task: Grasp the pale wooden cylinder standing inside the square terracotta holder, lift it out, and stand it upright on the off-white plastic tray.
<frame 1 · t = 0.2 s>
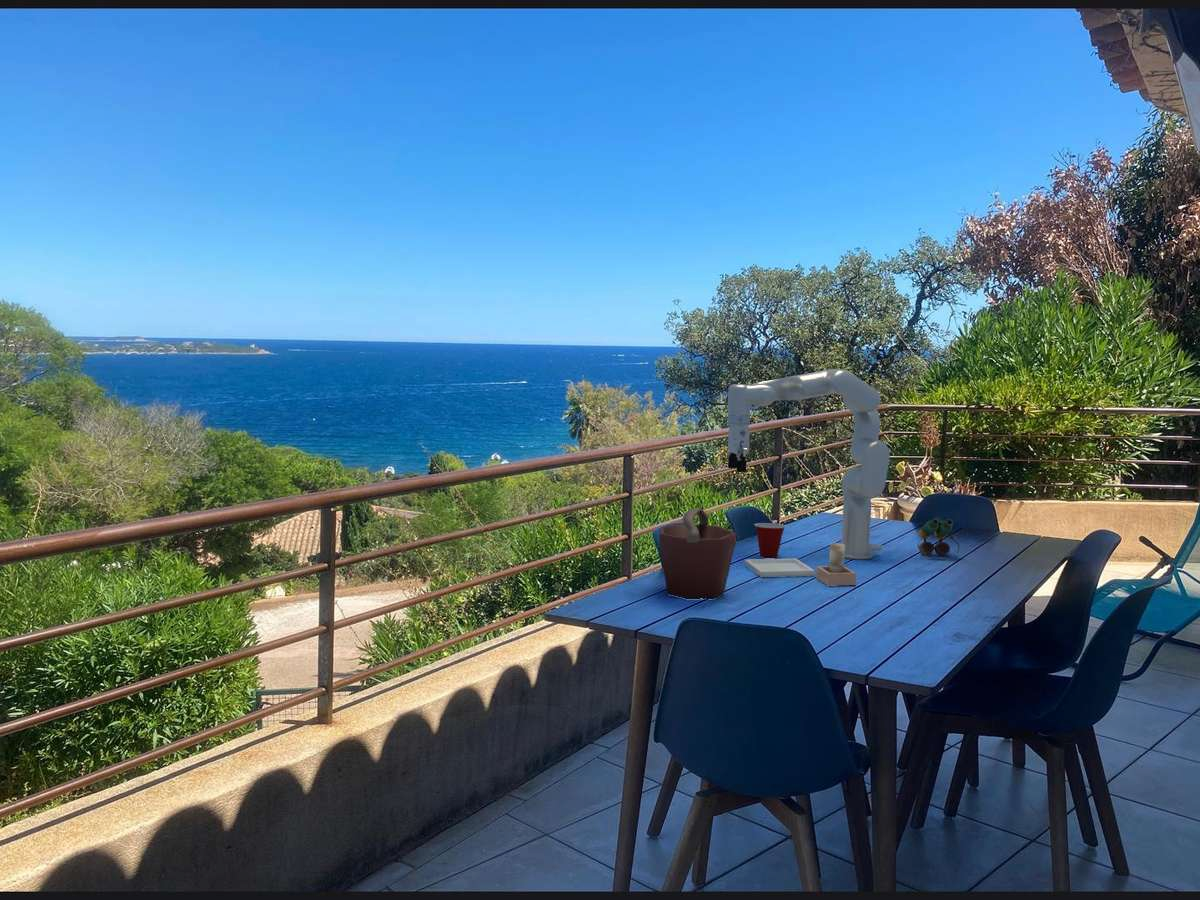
hand: (736, 470, 281), 31 cm above the table, tool pointing down, fingers open, 9 cm apart
plastic tray: (778, 570, 269), on the table
binoculars: (934, 556, 293), on the table
bucket: (692, 593, 242), on the table
plastic cup: (768, 557, 287), on the table
terracotta holder: (835, 582, 256), on the table
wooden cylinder: (836, 563, 256), in the terracotta holder
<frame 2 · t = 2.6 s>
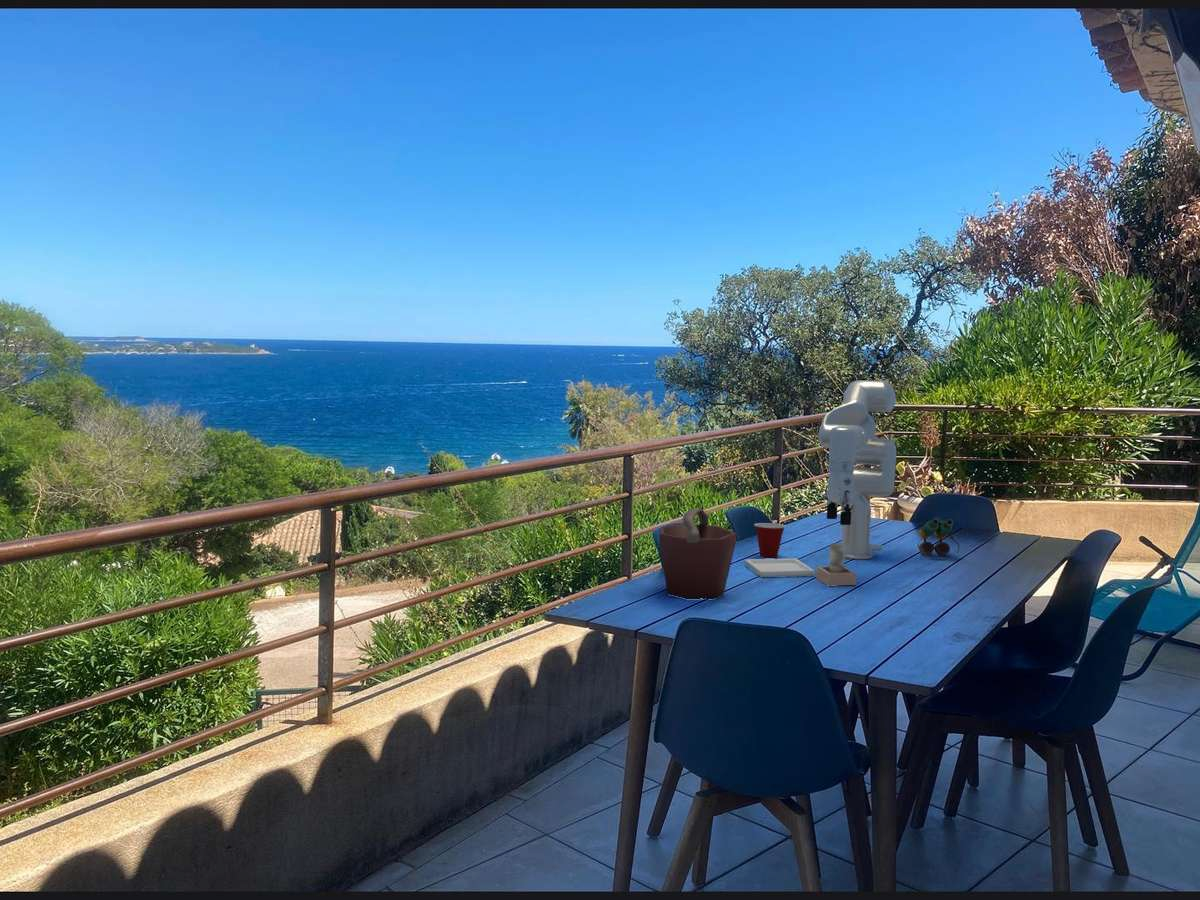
hand: (838, 521, 254), 19 cm above the table, tool pointing down, fingers open, 9 cm apart
nothing on the table moved.
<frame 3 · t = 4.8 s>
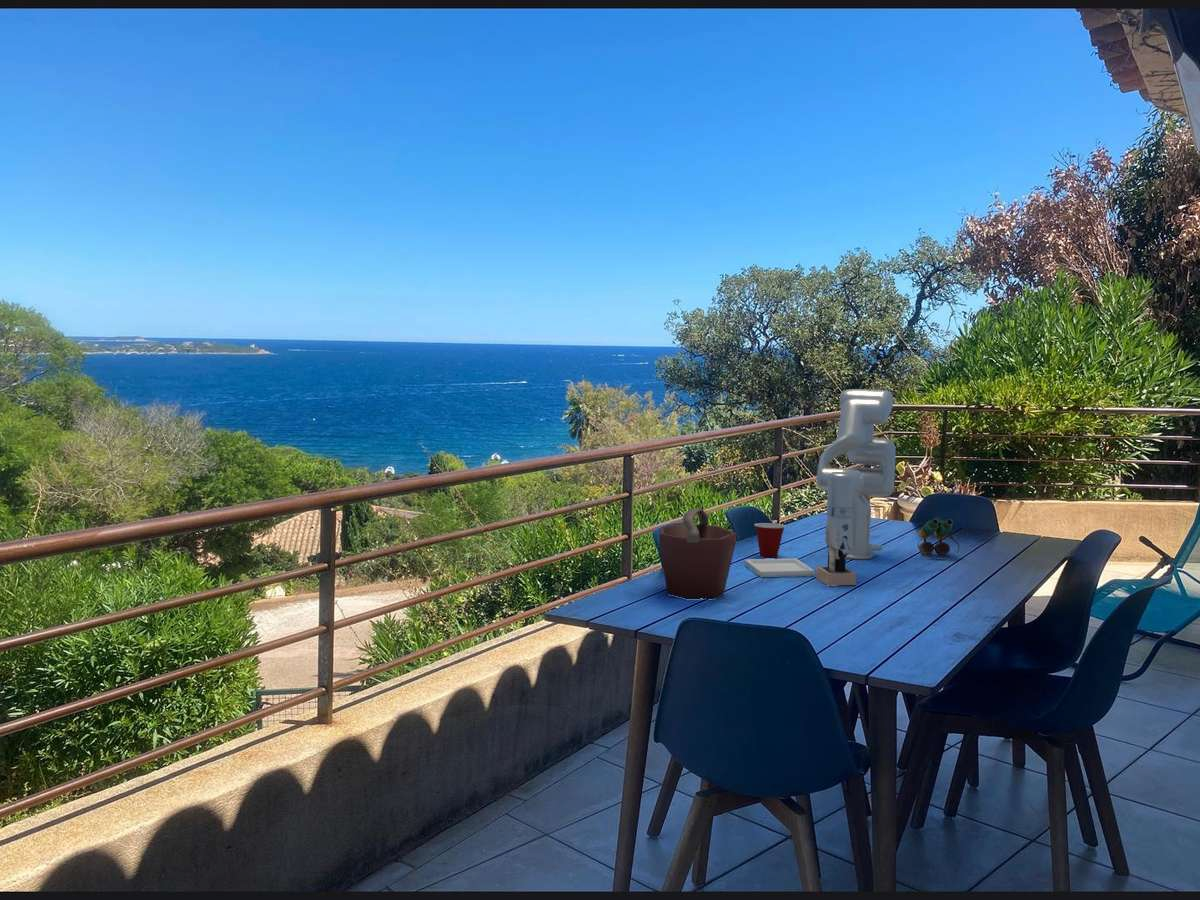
hand: (836, 568, 256), 4 cm above the table, tool pointing down, fingers closed on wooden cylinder, 4 cm apart
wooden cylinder: (836, 563, 256), in the terracotta holder, touching gripper
everything else where it was.
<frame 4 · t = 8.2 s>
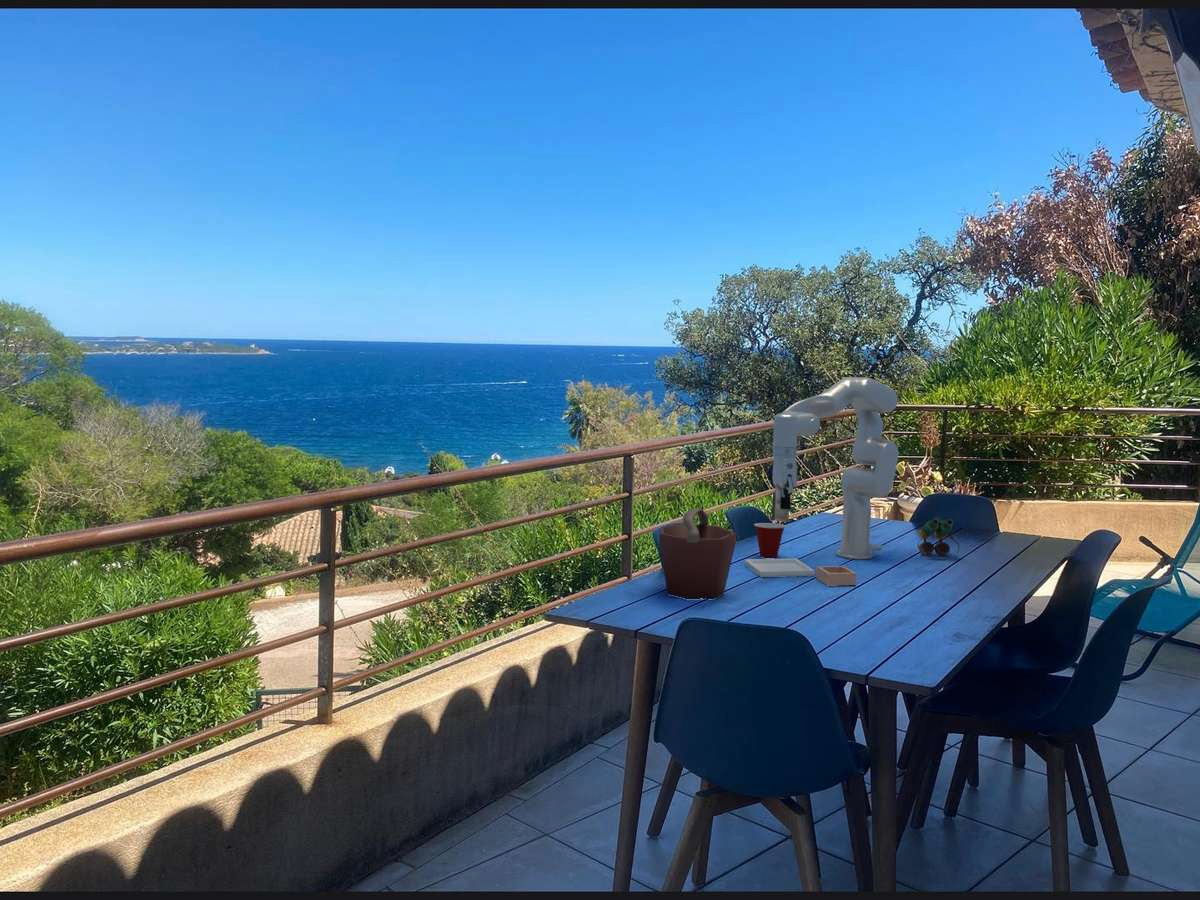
hand: (782, 507, 266), 21 cm above the table, tool pointing down, fingers closed on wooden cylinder, 4 cm apart
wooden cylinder: (782, 502, 266), point 23 cm above the table, touching gripper
everything else where it was.
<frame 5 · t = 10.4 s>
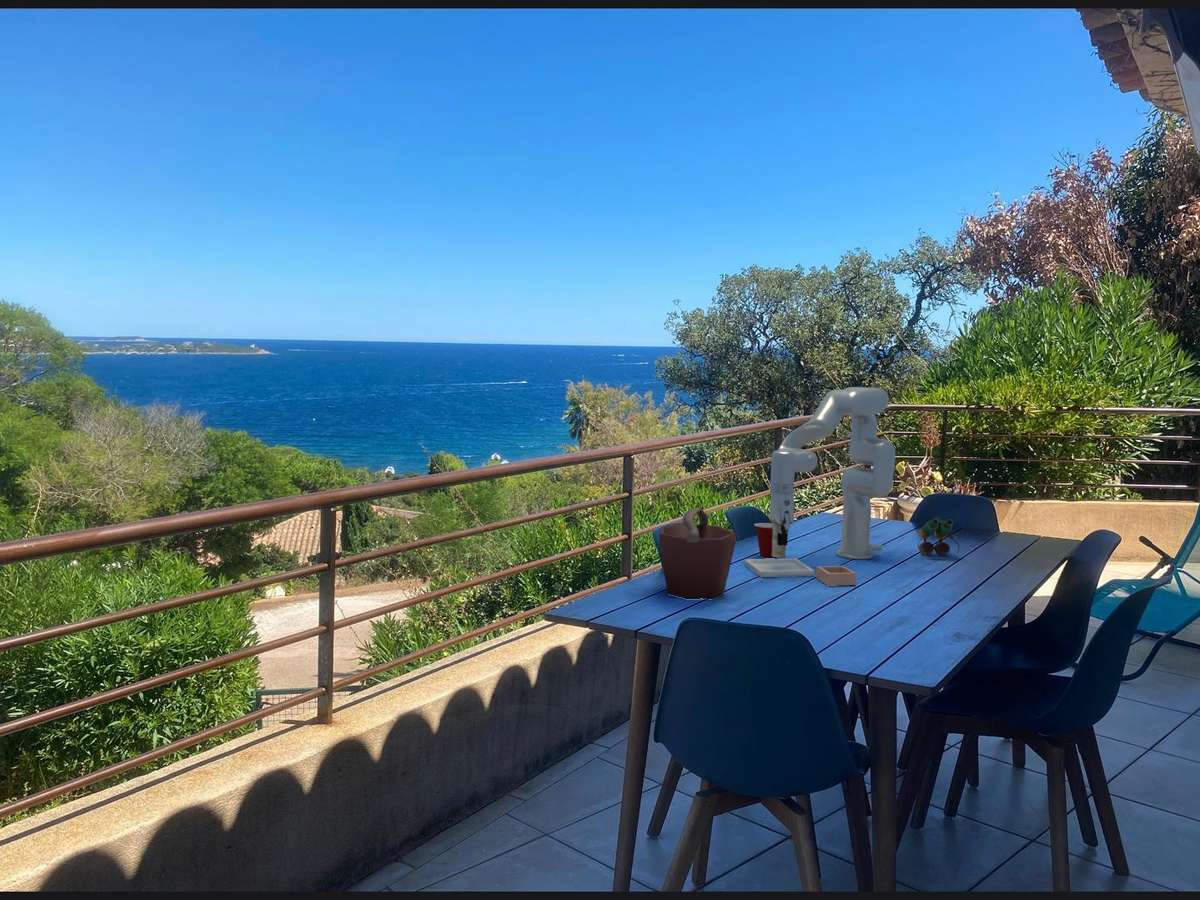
hand: (779, 542, 268), 9 cm above the table, tool pointing down, fingers closed on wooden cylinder, 4 cm apart
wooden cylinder: (779, 537, 268), point 11 cm above the table, touching gripper
everything else where it was.
when the fingers open (7 cm above the table, at t = 11.8 s): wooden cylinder drops 1 cm, resting on plastic tray.
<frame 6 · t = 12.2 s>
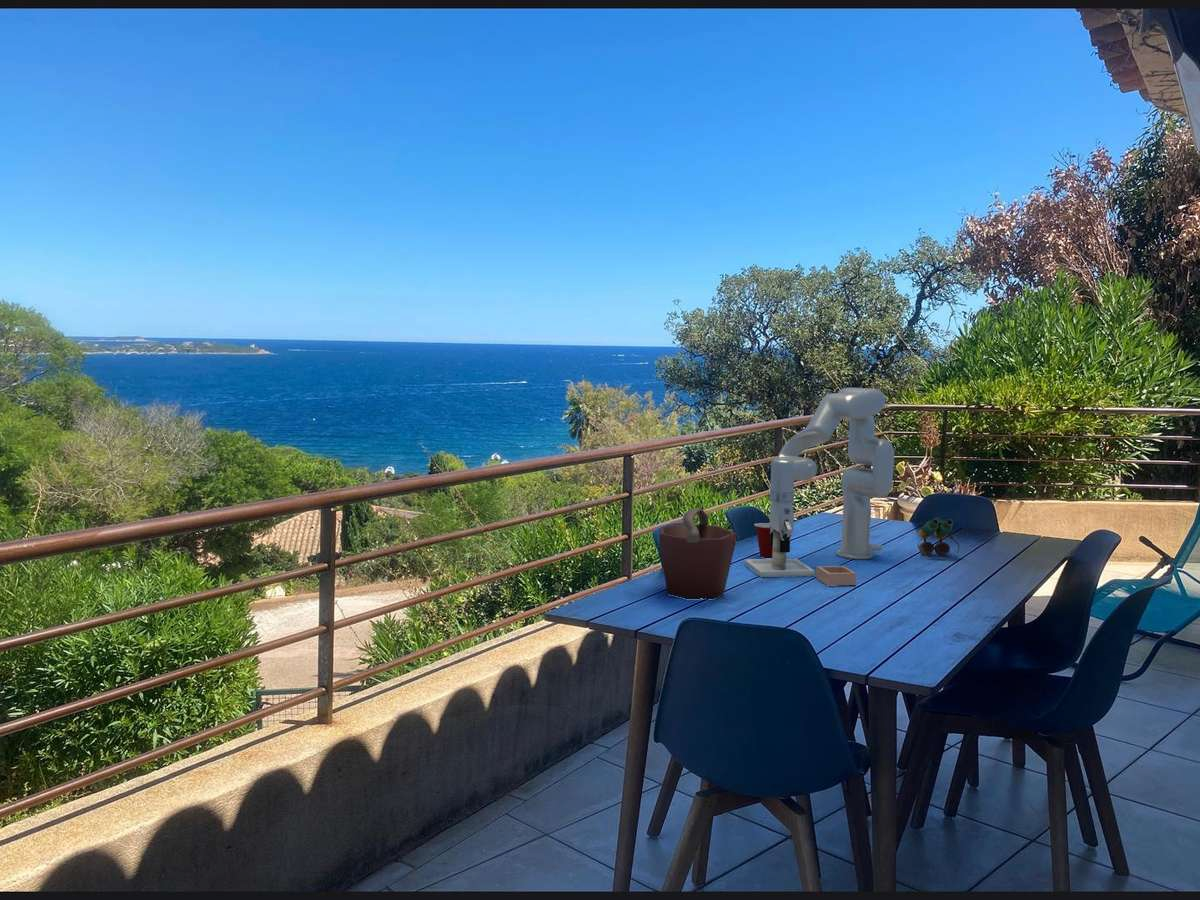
hand: (779, 548, 268), 7 cm above the table, tool pointing down, fingers open, 8 cm apart
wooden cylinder: (779, 550, 268), in the plastic tray, point 7 cm above the table
everything else where it was.
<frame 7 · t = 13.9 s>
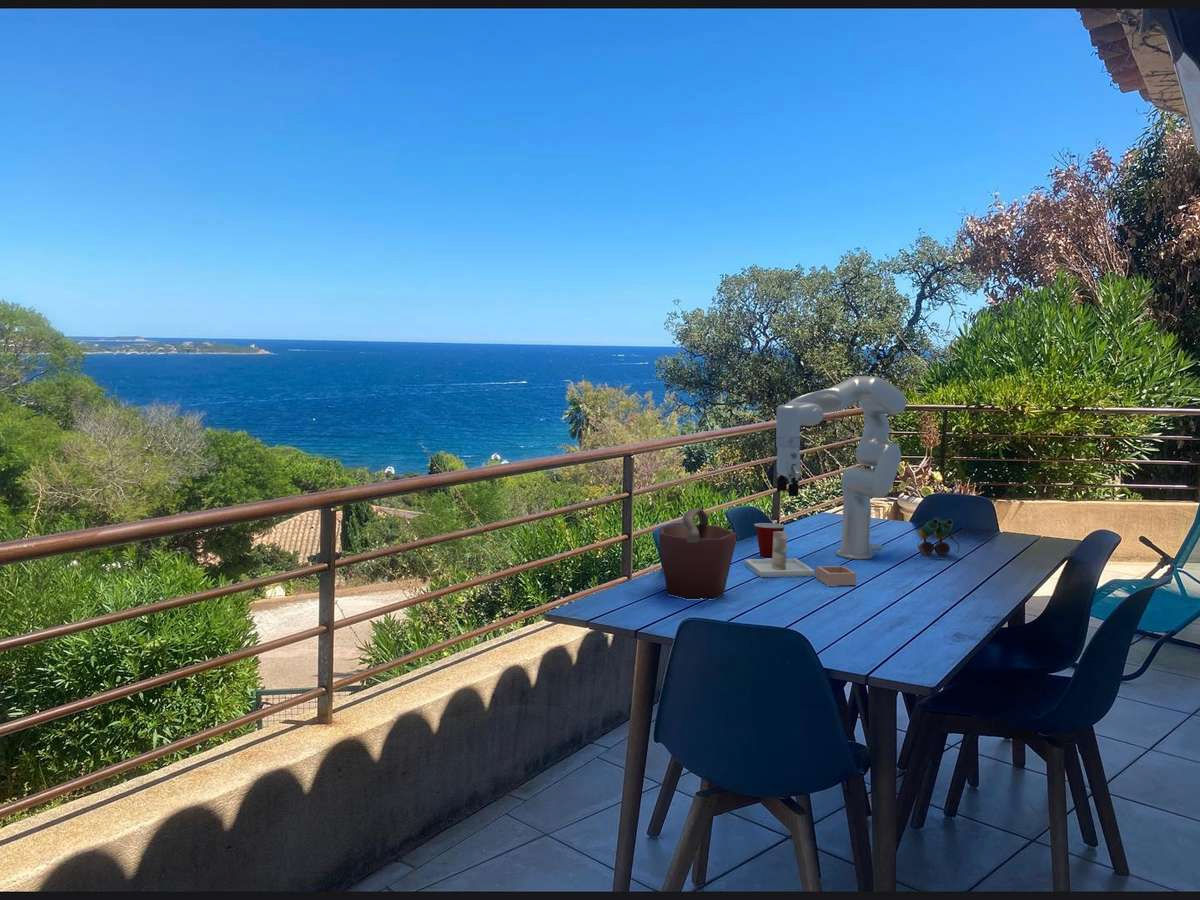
hand: (787, 493, 271), 25 cm above the table, tool pointing down, fingers open, 9 cm apart
nothing on the table moved.
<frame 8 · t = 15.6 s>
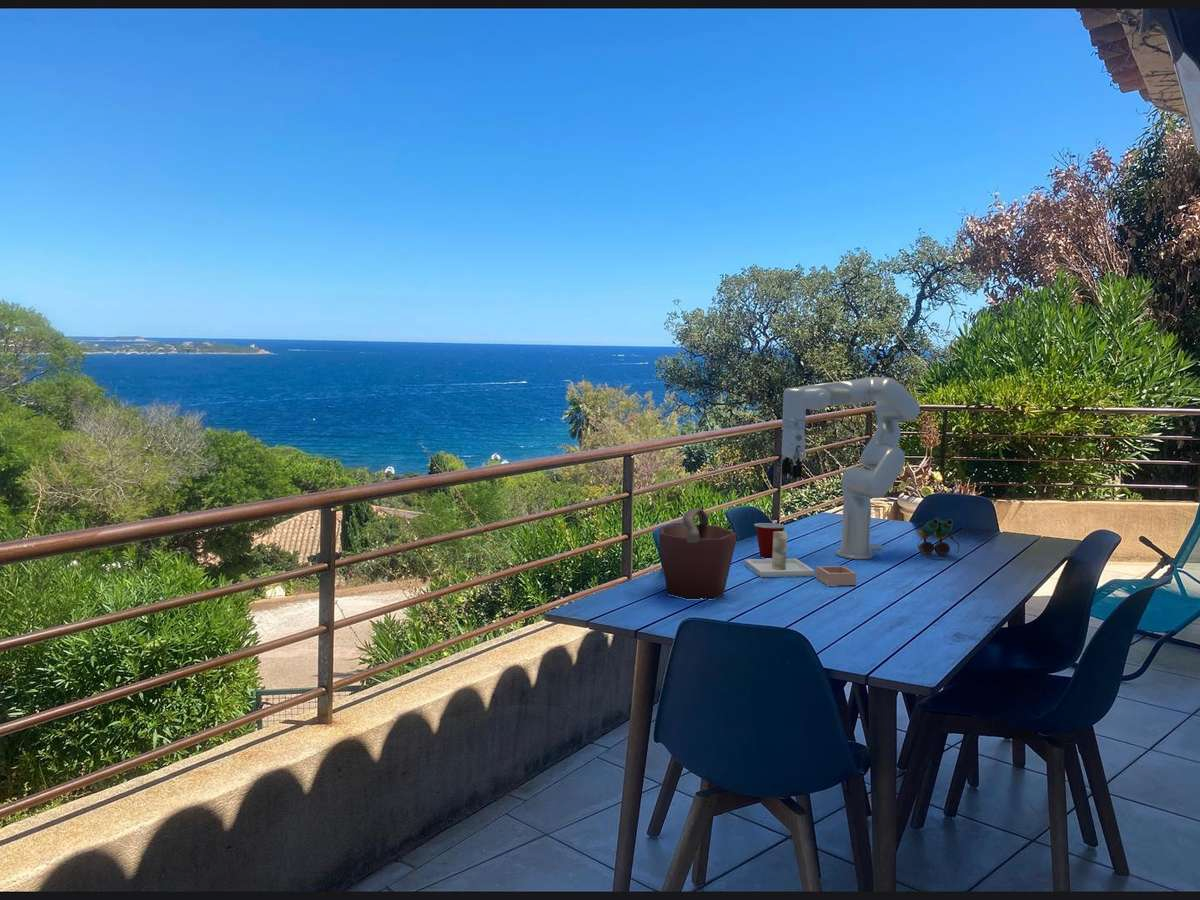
hand: (791, 475, 277), 30 cm above the table, tool pointing down, fingers open, 9 cm apart
nothing on the table moved.
at the end: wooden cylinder inside the target area on the plastic tray (0.0 cm from its centre), point 6.8 cm above the plastic tray's base; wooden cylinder tilted 0°; the gripper is holding nothing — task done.
